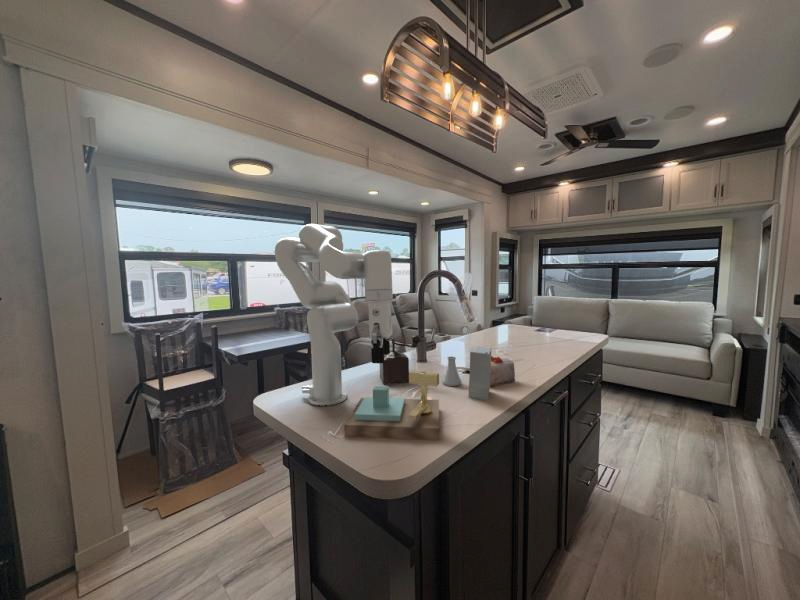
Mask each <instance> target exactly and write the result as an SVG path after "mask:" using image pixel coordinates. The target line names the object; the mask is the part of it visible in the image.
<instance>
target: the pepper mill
mask: <svg viewBox="0 0 800 600" xmlns="http://www.w3.org/2000/svg"><path fill="white" fill-rule="evenodd" d="M421 341H422V337H421V336H420V335H417V334H414V335H412V336H411V342H412V343H411V344H407V343H400V342H399V343H398V342H396V339H395V338H394V337H392V338H391V344H392V346H391V347H392V350H390V354H389V355H384V363H379V378H381V379H380V380H381V383H382V384H383V386H384V385H385V386H386V385H395V384H396V385H397V384H404V383H409V372H410V366H409V364H410V362H409V361H410V359H409V357H408V356H407V355H406V354H405V353H404V352H399V351H396V350H395V345H396V346H401V347H402V346H403V347H407V348H411V349H412V348H413V349H416V348H418V347H419V343H420V342H421Z"/></svg>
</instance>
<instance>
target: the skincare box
mask: <svg viewBox="0 0 800 600" xmlns="http://www.w3.org/2000/svg"><path fill="white" fill-rule="evenodd" d="M491 357H492V347H487V346H479V345H478V346H477V345H473V346H472V348H471V350H470V352H469V380H468V381H469V382H468V384H469V385H468V398H473V399H479V400H489V396H490V388H491V387H490V372H491Z"/></svg>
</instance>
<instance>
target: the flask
mask: <svg viewBox="0 0 800 600" xmlns="http://www.w3.org/2000/svg"><path fill="white" fill-rule="evenodd" d="M456 360H457V357H456V356H450V355H449V356H447V368H446V369H445V373H444V376H443V379H442V382H441V383H442V384H443V385H444V386H450V387H455V386H456V387H457V386H460V385H462V380H461V378H460V375H459V372H458V369H457V365H456Z"/></svg>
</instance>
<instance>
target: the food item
mask: <svg viewBox="0 0 800 600" xmlns="http://www.w3.org/2000/svg"><path fill="white" fill-rule="evenodd" d="M515 370H516V369H515V363H514V362H513V360H510V359H509V358H501V357H500V356H497V357H493V355H491V372H490V388H491V387H494V386H497V385H498V384H499V385H503V383H504V384H509V383H512V381H513V382H515V381H516V379H515V378H516V375H515V373H516V372H515ZM508 382H509V383H508ZM499 385H498V386H499Z"/></svg>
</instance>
